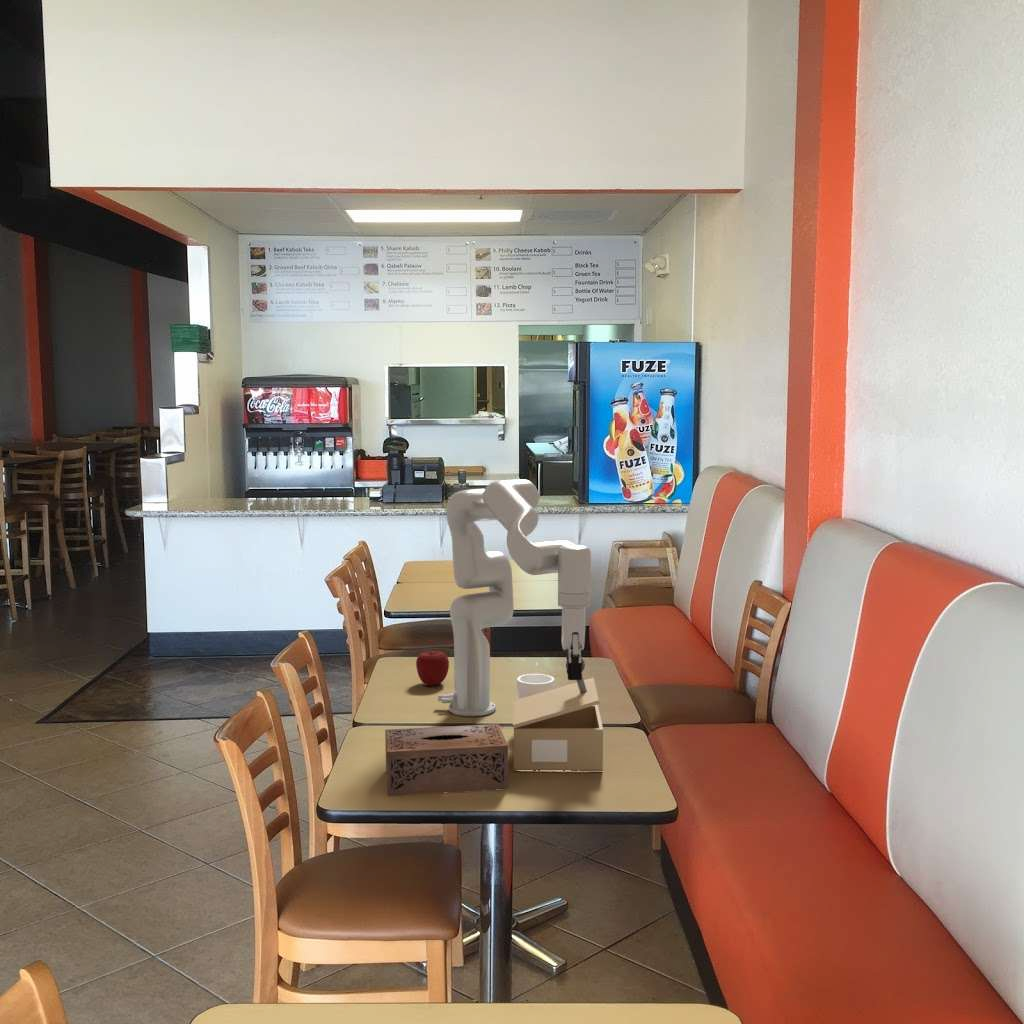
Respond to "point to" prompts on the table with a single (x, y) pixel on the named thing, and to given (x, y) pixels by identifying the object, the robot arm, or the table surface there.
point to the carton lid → (555, 701)
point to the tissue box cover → (446, 759)
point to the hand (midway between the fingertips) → (574, 675)
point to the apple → (432, 667)
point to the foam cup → (534, 684)
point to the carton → (561, 742)
